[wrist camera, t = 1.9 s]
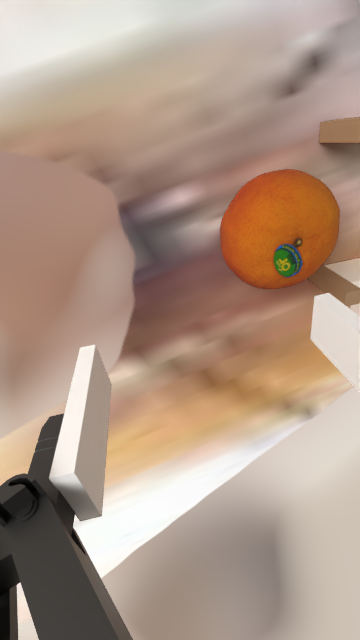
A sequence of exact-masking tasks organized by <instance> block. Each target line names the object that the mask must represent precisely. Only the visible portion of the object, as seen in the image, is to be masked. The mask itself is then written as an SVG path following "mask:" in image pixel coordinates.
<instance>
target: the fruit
mask: <svg viewBox="0 0 360 640" xmlns="http://www.w3.org/2000/svg"><path fill="white" fill-rule="evenodd" d="M339 217H340V210H339V206H338V204H337V202H336V200H335V198H334V196H333V194H332V192H331V191H330V190H329V188H328V187H327V186H326V185H325V184H324V183H322V182H321V181H320V180H318V179H316V178H315V177H313V176H311V175H309V174H307V173H305V172H302V171H298V170H290V169H285V170H278V171H273V172H268V173H265V174H262V175H259V176H257V177H256V178H254V179H252V180H251V181H249V182H248V183H247V184H245V185H244V186H243V187H242V188H241V189H240V190H239V192H238V193H237V194H236V196H235V198H234V199H233V200H232V202H231V203H230V205H229V207H228V209H227V210H226V212H225V214H224V216H223V218H222V222H221V227H220V235H221V250H222V254H223V257H224V259H225V262H226V264H227V266H228V267H229V268H230V269H231V270H232V271H233V272H234V273H235V274H236V275H237V276H238V277H239V278H240V279H241V280H242V281H244V282H246V283H247V284H249V285H252V286H254V287H257V288H263V289H277V288H282V287H287V286H291V285H294V284H297V283H299V282H301V281H303V280H305V279H307V278H308V277H310V276H311V275H313V274H314V273H315V272H316V271H317V270H318V268H319V267H320V266H321V265H322V264H323V263H324V262H325V261H326V259H327V258H328V257H329V255H330V254H331V252H332V251H333V249H334V247H335V244H336V241H337V238H338V232H339Z"/></svg>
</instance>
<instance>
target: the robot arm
mask: <svg viewBox="0 0 360 640" xmlns="http://www.w3.org/2000/svg"><path fill="white" fill-rule="evenodd" d="M311 340H312V342H313V343H314V344H315V345H316V346H317V347H318V348H319V349H320V350H321V351H322V352H323V354H324V355H325V356H326V357H327V358H328V359H329V360H330V361H331V362H332V363H333V364H334V365H335V367H336V368H337V369H338V370H339V371H340V372H341V373H342V374H343V375H344V376H345V377H346V379H347V380H348V381H349V382H350V383H351V384H352V385H353V386H354V387H355V388H356V389H357V391H358V392H359V393H360V316H359V315H358V314H356V313H355V312H354V311H352V310H351V309H350V308H348V307H347V306H346V305H344V304H343V303H342V302H340V301H339V300H338V299H336V298H335V297H334V296H332V295H331V294H330V293H326V294H321V295H317V296H314V306H313V317H312V328H311ZM111 385H112V384H111V382H110V379H109V377H108V374H107V372H106V369H105V367H104V364H103V362H102V359H101V357H100V354H99V352H98V349H97V347H96V345H91V346H86V347H81V348H80V351H79V355H78V359H77V363H76V367H75V371H74V376H73V380H72V384H71V388H70V392H69V396H68V401H67V405H66V409H65V413H64V414H60V415H56V416H51V417H49V419H48V420H47V422H46V423H45V424H44V426H43V427H42V429H41V432H40V436H39V439H38V443H37V445H36V449H35V453H34V455H33V458H32V462H31V465H30V468H29V471H28V474H20V475H16V476H14V477H12V478H10V479H9V480H7V481H6V482H5V483H3V484H2V485H1V486H0V640H18V619H17V587H16V585H17V584H18V583H20V582H21V585H22V588H23V591H24V594H25V597H26V601H27V604H28V607H29V610H30V613H31V616H32V619H33V622H34V626H35V628H36V632H37V634H38V638H39V640H133V639H132V637H131V636H130V633H129V631H128V629H127V628H126V626H125V624H124V622H123V620H122V618H121V616H120V615H119V612H118V610H117V609H116V607H115V605H114V603H113V601H112V599H111V597H110V595H109V593H108V591H107V590H106V588H105V586H104V584H103V582H102V580H101V578H100V576H99V574H98V573H97V571H96V569H95V567H94V565H93V563H92V561H91V559H90V557H89V555H88V554H87V552H86V550H85V548H84V546H83V544H82V542H81V540H80V538H79V536H78V535H77V533H76V531H75V530H74V528H73V522H74V516H75V515H76V516H77V518H78V519H79V520H80V521H83V520H88V519H92V518H96V517H100V516H102V506H103V493H104V479H105V466H106V452H107V439H108V425H109V412H110V398H111Z"/></svg>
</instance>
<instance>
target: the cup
mask: <svg viewBox="0 0 360 640" xmlns="http://www.w3.org/2000/svg"><path fill="white" fill-rule="evenodd" d="M350 309H351V310H352V311H354V312H355V313H356V314H358V315H359V316H360V303H359V304H356V305H351V306H350Z"/></svg>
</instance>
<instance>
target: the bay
mask: <svg viewBox="0 0 360 640" xmlns="http://www.w3.org/2000/svg"><path fill="white" fill-rule="evenodd" d="M319 143H360V117H353V118H344V119H336V120H331V121H325V122H321V123H320V135H319ZM308 280H309V281H311V282H312V283H313V284H315V285H316V286H317V287H318V288H320V289H321V290H322V291H324V292H325V293H330V294H331V295H332V296H334V297H335V298H336V299H338V300H339V301H340V302H342V303H343V304H344V305H346V306H351V305H356V304H359V303H360V258H356V259H351V260H347V261H342V262H337V263H333V264H328V265H321V266H320V267H319V268H318V270H317V271H316V272H315V273H314V274H313V275H311V276H310V277H308Z"/></svg>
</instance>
